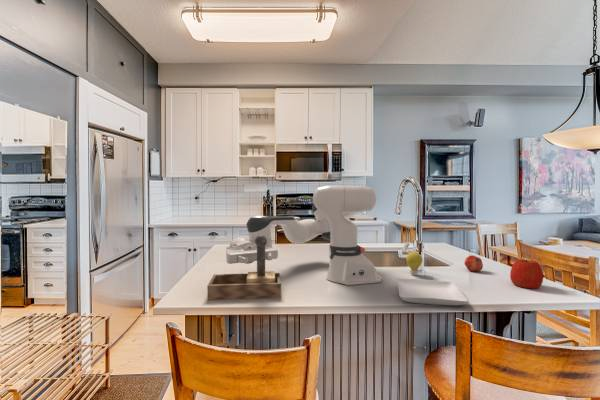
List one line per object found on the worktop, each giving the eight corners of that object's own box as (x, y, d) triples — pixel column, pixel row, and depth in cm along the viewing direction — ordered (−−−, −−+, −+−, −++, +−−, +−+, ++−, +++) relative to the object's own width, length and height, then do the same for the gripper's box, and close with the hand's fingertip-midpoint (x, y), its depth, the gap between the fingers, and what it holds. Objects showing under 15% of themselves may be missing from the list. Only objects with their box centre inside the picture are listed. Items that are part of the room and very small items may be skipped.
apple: (541, 284, 132) (542, 258, 132) (544, 292, 123) (546, 263, 122) (509, 280, 138) (510, 254, 137) (510, 287, 128) (511, 260, 128)
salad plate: (469, 310, 106) (469, 300, 105) (399, 305, 110) (399, 295, 110) (452, 289, 126) (453, 280, 126) (394, 286, 131) (395, 277, 130)
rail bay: (279, 285, 130) (279, 272, 130) (280, 297, 116) (280, 283, 116) (214, 287, 128) (214, 274, 127) (207, 300, 114) (207, 285, 113)
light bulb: (406, 276, 143) (406, 253, 143) (405, 272, 150) (405, 250, 149) (422, 277, 142) (423, 254, 141) (421, 273, 148) (421, 251, 148)
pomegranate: (461, 274, 155) (469, 265, 147) (460, 259, 159) (467, 250, 151) (478, 276, 154) (487, 268, 146) (477, 262, 158) (485, 253, 150)
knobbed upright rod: (274, 284, 127) (274, 233, 126) (275, 292, 118) (275, 236, 117) (248, 285, 126) (247, 233, 125) (246, 292, 117) (246, 237, 116)
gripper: (271, 257, 141) (284, 264, 128) (222, 262, 132) (231, 271, 119) (271, 242, 140) (284, 248, 128) (222, 246, 131) (231, 253, 119)
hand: (258, 259), depth 124 cm, fingers open, 8 cm apart
